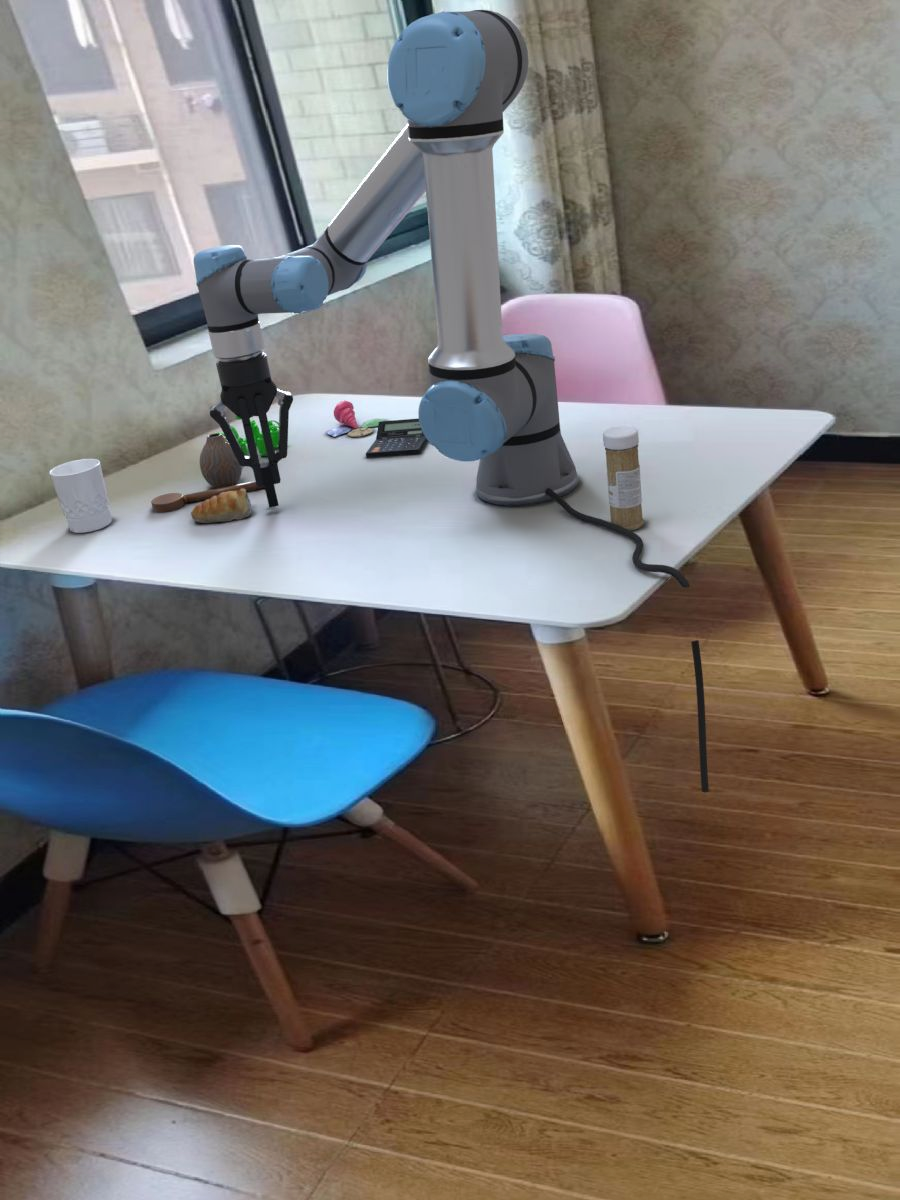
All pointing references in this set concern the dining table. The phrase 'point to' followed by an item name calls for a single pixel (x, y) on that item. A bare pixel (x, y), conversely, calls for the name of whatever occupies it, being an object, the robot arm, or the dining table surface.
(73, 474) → the white cup
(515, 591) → the dining table surface
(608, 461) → the sprinkles bottle
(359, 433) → the toy pieces
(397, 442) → the calculator
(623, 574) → the dining table surface
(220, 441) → the vase
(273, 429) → the chandelier
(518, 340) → the robot arm
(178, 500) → the wooden spoon
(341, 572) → the dining table surface
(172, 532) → the dining table surface
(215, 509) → the pastry
